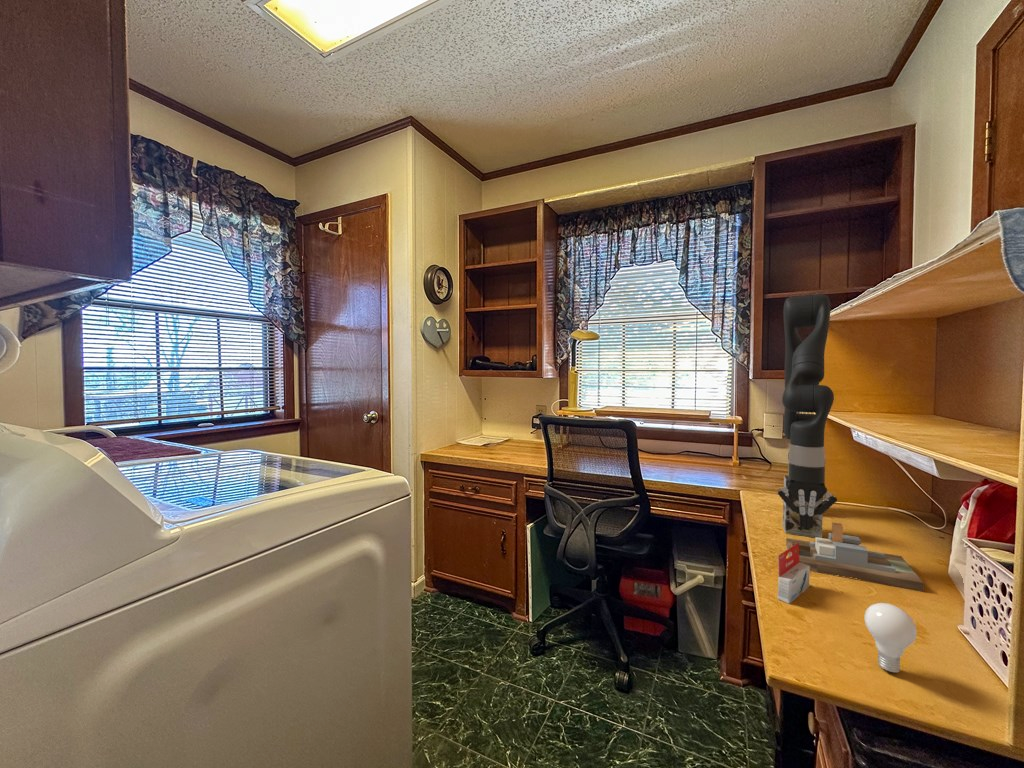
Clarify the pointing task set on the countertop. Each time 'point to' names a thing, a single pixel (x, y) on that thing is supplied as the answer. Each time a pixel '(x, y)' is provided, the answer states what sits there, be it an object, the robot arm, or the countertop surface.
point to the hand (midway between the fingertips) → (805, 528)
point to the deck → (861, 568)
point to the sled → (830, 541)
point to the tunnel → (853, 554)
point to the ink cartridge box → (792, 575)
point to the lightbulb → (890, 633)
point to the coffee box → (792, 518)
